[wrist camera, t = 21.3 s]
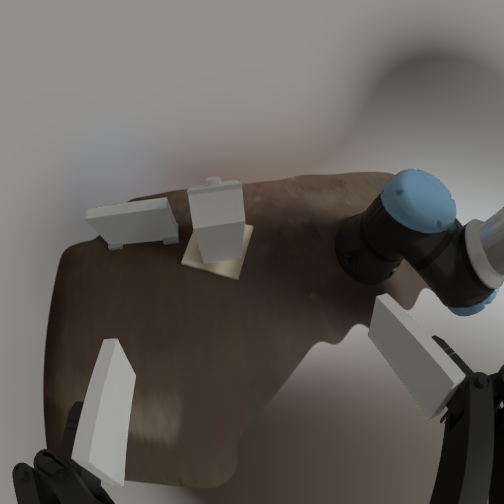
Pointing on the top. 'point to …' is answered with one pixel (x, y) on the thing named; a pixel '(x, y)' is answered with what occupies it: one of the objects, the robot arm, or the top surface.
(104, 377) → the robot arm
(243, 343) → the top surface
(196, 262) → the birch board
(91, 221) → the grey screen
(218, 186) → the milk carton
